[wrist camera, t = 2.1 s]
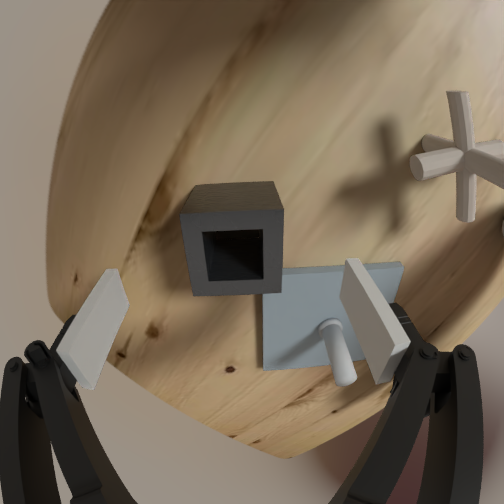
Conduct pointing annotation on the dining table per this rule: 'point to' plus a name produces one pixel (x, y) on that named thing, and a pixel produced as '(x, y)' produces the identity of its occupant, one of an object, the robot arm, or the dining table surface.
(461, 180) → the light grey toy jack
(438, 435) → the robot arm
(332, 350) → the post block
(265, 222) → the collar
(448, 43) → the dining table surface
